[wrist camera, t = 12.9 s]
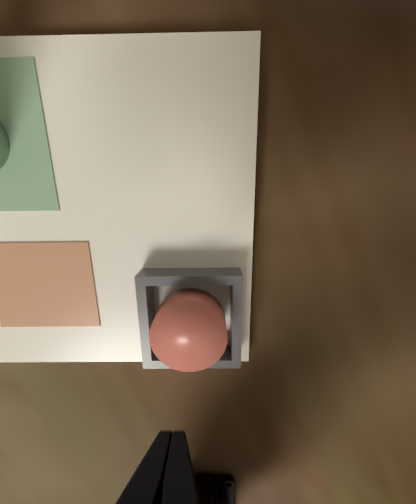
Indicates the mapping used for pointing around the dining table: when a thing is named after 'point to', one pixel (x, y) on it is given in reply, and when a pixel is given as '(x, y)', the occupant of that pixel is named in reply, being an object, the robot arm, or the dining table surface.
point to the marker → (3, 146)
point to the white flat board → (124, 189)
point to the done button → (189, 330)
